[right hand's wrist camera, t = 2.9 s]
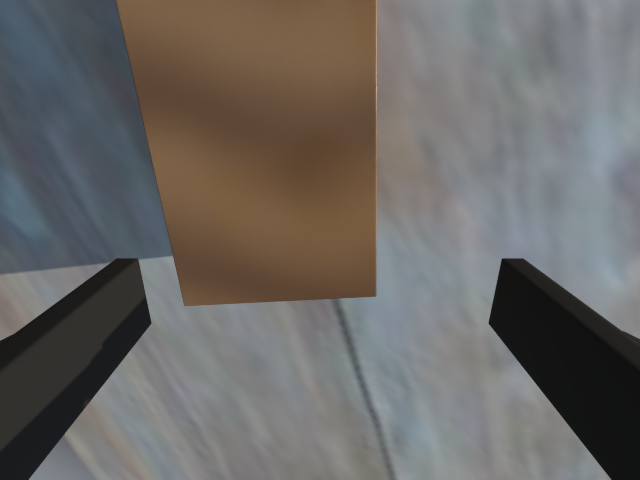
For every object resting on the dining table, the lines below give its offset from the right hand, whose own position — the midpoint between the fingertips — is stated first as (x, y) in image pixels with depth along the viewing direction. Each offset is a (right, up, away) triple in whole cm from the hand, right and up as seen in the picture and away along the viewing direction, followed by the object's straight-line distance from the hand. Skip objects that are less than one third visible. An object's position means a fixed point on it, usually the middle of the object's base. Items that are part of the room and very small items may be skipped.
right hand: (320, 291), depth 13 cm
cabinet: (-3, +11, +13) cm, 17 cm away
